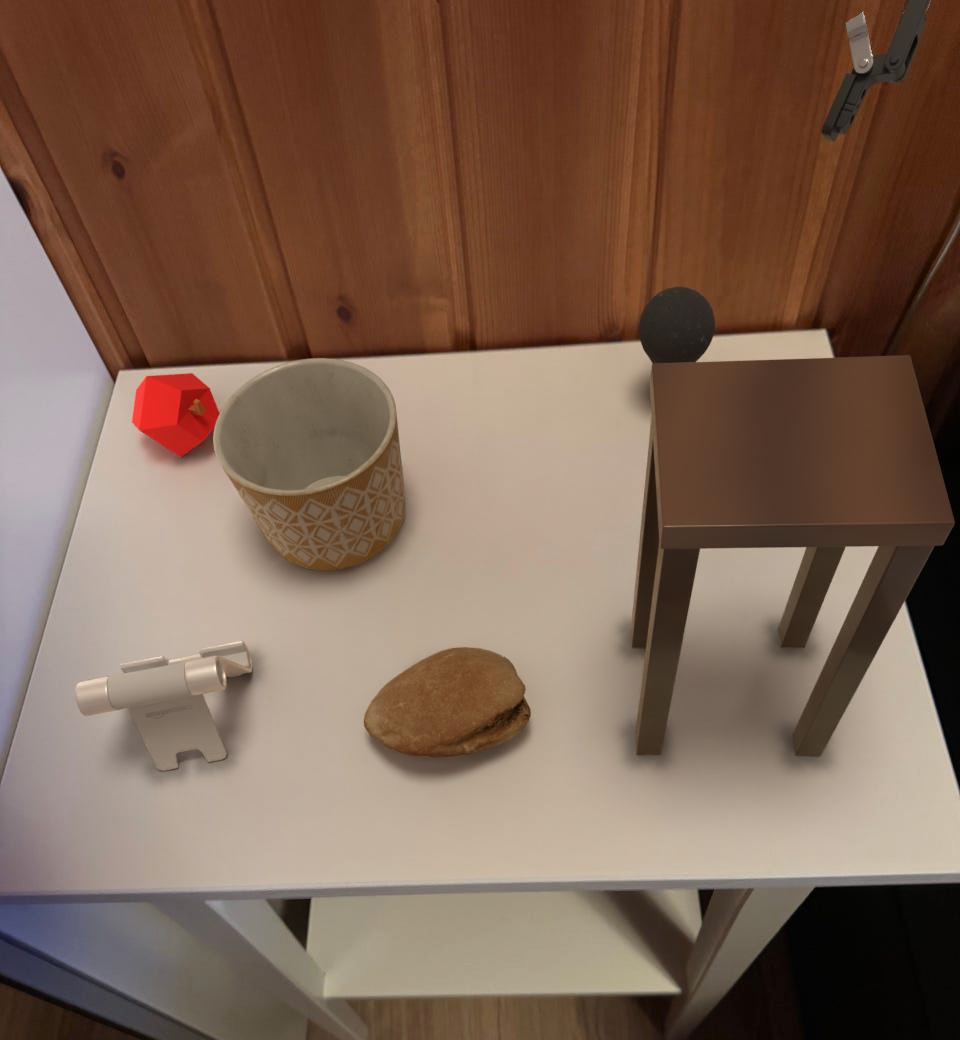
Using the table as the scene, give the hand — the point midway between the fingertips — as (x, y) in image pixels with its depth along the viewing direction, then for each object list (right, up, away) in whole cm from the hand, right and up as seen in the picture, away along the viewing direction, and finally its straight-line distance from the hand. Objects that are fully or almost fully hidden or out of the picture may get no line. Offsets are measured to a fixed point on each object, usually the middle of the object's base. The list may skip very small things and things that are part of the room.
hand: (771, 120), depth 67 cm
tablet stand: (-41, -42, -2) cm, 58 cm away
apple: (-45, -20, +12) cm, 51 cm away
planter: (-32, -28, +6) cm, 42 cm away
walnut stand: (-5, -40, -4) cm, 41 cm away
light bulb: (-5, -17, +10) cm, 21 cm away
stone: (-23, -42, -3) cm, 48 cm away
